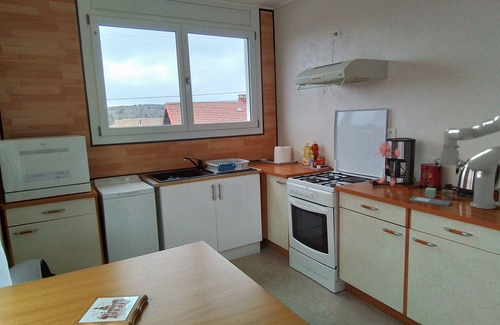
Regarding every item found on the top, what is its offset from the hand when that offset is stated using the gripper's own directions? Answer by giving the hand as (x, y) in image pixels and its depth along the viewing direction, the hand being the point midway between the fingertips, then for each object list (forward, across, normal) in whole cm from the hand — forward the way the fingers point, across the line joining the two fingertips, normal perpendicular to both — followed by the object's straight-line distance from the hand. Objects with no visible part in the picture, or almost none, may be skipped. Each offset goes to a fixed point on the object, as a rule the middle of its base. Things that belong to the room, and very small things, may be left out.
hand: (448, 173), depth 209 cm
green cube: (+17, +10, 0) cm, 20 cm away
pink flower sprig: (+18, +47, -18) cm, 53 cm away
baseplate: (+17, +7, +15) cm, 24 cm away
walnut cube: (+17, 0, 0) cm, 17 cm away
